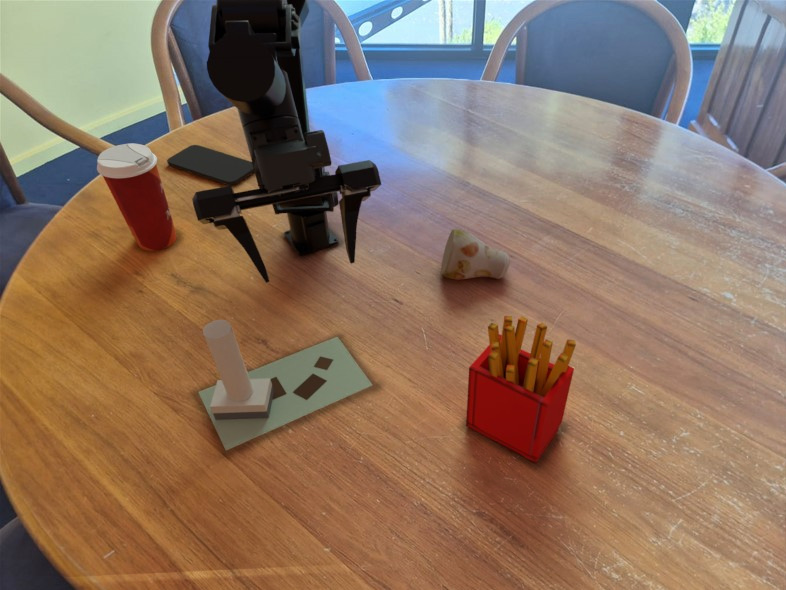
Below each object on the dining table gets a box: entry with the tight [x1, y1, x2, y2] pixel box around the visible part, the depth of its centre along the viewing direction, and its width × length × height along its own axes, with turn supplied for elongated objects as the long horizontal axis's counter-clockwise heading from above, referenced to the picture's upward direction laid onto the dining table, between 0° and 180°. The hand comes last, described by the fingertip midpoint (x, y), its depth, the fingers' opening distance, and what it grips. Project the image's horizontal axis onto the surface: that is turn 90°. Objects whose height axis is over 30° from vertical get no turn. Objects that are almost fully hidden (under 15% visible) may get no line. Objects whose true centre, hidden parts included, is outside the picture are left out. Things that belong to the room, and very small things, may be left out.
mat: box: [198, 336, 373, 451], centre depth 74 cm, size 10×18×1 cm, turn 124°
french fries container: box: [465, 315, 577, 464], centre depth 67 cm, size 7×9×14 cm
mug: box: [440, 228, 511, 281], centre depth 89 cm, size 8×10×10 cm
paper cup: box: [96, 142, 178, 252], centre depth 90 cm, size 8×8×14 cm
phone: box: [166, 144, 255, 186], centre depth 110 cm, size 7×1×15 cm
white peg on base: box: [202, 319, 274, 420], centre depth 68 cm, size 6×4×12 cm, turn 94°
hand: (310, 272), depth 67 cm, fingers open, 9 cm apart
